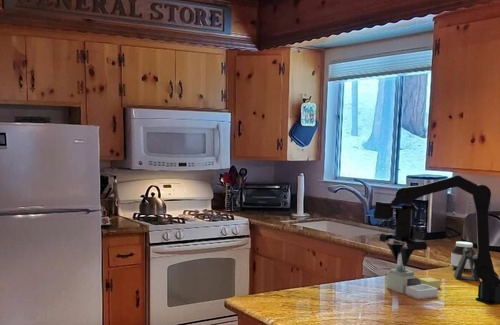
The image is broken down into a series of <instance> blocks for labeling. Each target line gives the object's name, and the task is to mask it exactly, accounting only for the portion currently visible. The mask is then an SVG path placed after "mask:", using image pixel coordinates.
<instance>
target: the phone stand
mask: <svg viewBox="0 0 500 325" xmlns="http://www.w3.org/2000/svg"><path fill="white" fill-rule="evenodd" d="M468 249H469V248H468ZM469 250H470V249H469ZM467 251H468V250H467V249H466V248H464V249H463V255H462V257H461V260H460V262H459V264H458V266H457V269H455V271H454V273H453V276H454V278H455V280H460V281H471V282H472V281H474V282H480V281H481V279H480V278H479V277H478V276H477V275H476V271H474V270H473V265H474V261H473V252H472V251H471V250H470V253H469V254H467V255H466V252H467ZM467 259H469V263H470V267H471V271H470V272H471V276H469V275H463V273H464V271H463V270H464V267H465V264H466V261H467Z"/></svg>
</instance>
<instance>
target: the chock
mask: <svg viewBox="0 0 500 325" xmlns="http://www.w3.org/2000/svg"><path fill="white" fill-rule="evenodd" d="M417 278H418V277H417ZM418 279H419V280H420V282H421V285H422V284H426V285H429V286H432V287H435V288H438V289H440V288H441V280H440V279H437V278H434V277H429V276H428V277H419V278H418Z"/></svg>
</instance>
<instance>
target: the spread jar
mask: <svg viewBox="0 0 500 325" xmlns="http://www.w3.org/2000/svg"><path fill="white" fill-rule="evenodd" d="M473 247H474V244H473V242H469V241H456V242H455V246H454V247H453V248H452V250H451V253H450V254H451V256H450V263H451V267H453V269H455V270H456V269H457V266H458V264H459V262H460V260H461V257H462V255H463V249H464V248H466V249H467V250H468V251H467V252H466V255H467V254H469V253H470V250H471V251H472V252H473V256H477V252H476V250H475V249H474V248H473ZM468 248H469V249H470V250H469V249H468ZM463 272H471V267H470V263H469V259H467V261H466V264H465V267H464V270H463Z"/></svg>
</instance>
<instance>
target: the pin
mask: <svg viewBox="0 0 500 325" xmlns="http://www.w3.org/2000/svg"><path fill="white" fill-rule="evenodd" d="M396 269H397V270H407V265H406V266H403V262H402V256H401V252H398V257H397V263H396Z"/></svg>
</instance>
